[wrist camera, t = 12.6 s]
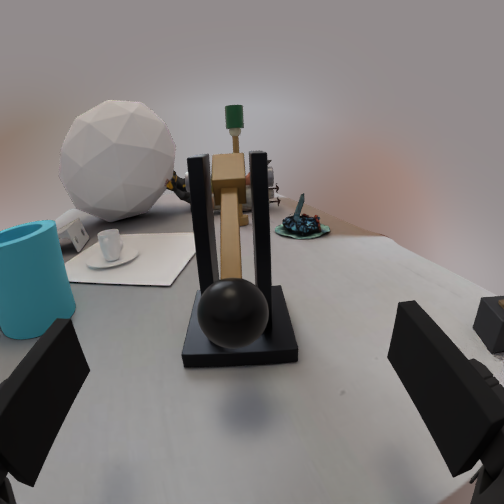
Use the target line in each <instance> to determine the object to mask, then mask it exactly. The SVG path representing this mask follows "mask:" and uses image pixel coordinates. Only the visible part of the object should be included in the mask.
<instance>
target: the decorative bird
mask: <svg viewBox="0 0 504 504" xmlns="http://www.w3.org/2000/svg"><path fill="white" fill-rule="evenodd" d="M276 187H277V188H268V189H269V199H272V198H274V191H273V189H277V190H276V192H277V191H278V190H279V187H278V186H277V185H276ZM246 199H247V203H246V204H242V211H249V210H252V204H251V185H246ZM277 200H278V201H269V203H273V202H278V206H279V203H280V201H281V200H279V199H278V197H277ZM212 203H213V210H220V209H221V205H219V206H215V202H214V196H213V194H212Z"/></svg>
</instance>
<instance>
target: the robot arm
mask: <svg viewBox="0 0 504 504" xmlns="http://www.w3.org/2000/svg"><path fill="white" fill-rule="evenodd" d="M387 358H388V359H389V361H390V363H391V364H392V366H393V368H394V370H395V371H396V373H397V375H398V376H399V378H400V380H401V382H402V383H403V385H404V387H405V389H406V390H407V392H408V394H409V396H410V397H411V399H412V401H413V403H414V404H415V406H416V408H417V410H418V412H419V413H420V415H421V417H422V419H423V421H424V423H425V424H426V426H427V428H428V430H429V432H430V434H431V436H432V437H433V439H434V441H435V443H436V445H437V447H438V449H439V451H440V453H441V455H442V457H443V459H444V460H445V462H446V464H447V466H448V468H449V470H450V472H451V474H452V476H453V477H456V476H458V475H460V474H462V473H464V472H467V471H469V470H471V469H472V468H473V467H474V465H475V464H476V463H477V462H478V460H479V459H480V460H481V462H482V464H483V465H482V466H481V468H480V469H479V470H478V471H477V472H476V474H475V475H474V476H473V477H472V478H471V480H470V483H471V484H472V483H473V482H474V480H475V479H476V478H477V477H478V478H477V482H476V486H475V490H474V493H473V496H472V500H471V503H470V504H504V387H503V386H502V385H501V384H499V381H498V380H497V379H496V378H495V377H493V374H492V373H491V372H490V371H489V369H488V368H487V367H486V366H485V365H484V364H482V363H480V362H479V361H477V360H476V359H474V358H473V359H470V360H468V359H467V358H466V357H465V356H464V354H463V353H462V352H461V351H460V350H459V349H458V347H457V346H456V345H455V344H454V343H453V342H452V341H451V340H450V338H449V337H448V336H447V335H446V334H445V333H444V332H443V331H442V329H441V328H440V327H439V326H438V325H437V324H436V323H435V322H434V321H433V320H432V318H431V317H430V316H429V315H428V314H427V313H426V312H425V311H424V310H423V309H422V308H421V307H420V306H419V304H418V303H417V302H416V301H415V300H413V301H406V302H399V303H398V308H397V314H396V319H395V324H394V329H393V334H392V338H391V343H390V347H389V352H388V356H387ZM89 372H90V369H89V366H88V364H87V361H86V359H85V356H84V354H83V351H82V348H81V346H80V343H79V341H78V338H77V335H76V332H75V329H74V327H73V324H72V321H71V319H64V318H57V319H56V320H55V321H54V322H53V323H52V324H51V326H50V327H49V328H48V329H47V330H46V331H45V333H44V334H43V335H42V336H41V337H40V339H39V340H38V341H37V342H36V343H35V345H34V346H33V347H32V348H31V350H30V351H29V352H28V353H27V355H26V356H25V357H24V358H23V360H22V361H21V362H20V363H19V365H18V366H17V367H16V369H15V370H14V371H13V372H12V374H11V375H10V376H9V378H8V379H6V380H4V381H3V382H2V383H1V384H0V504H16V501H15V498H14V494H13V490H12V487H11V483H10V481H9V479H8V478H7V477H6V476H7V473H8V472H9V473H10V474H11V475H12V476H13V477H14V478H15V479H16V480H17V481H19V482H21V483H24V484H26V485H28V486H31V487H34V485H35V482H36V480H37V478H38V475H39V473H40V471H41V469H42V466H43V464H44V462H45V460H46V457H47V455H48V453H49V451H50V449H51V447H52V444H53V442H54V440H55V438H56V436H57V434H58V432H59V430H60V428H61V426H62V424H63V422H64V420H65V418H66V416H67V414H68V412H69V410H70V408H71V406H72V404H73V402H74V400H75V398H76V396H77V394H78V392H79V390H80V389H81V387H82V385H83V383H84V381H85V379H86V377H87V376H88V374H89Z"/></svg>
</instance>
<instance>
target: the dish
mask: <svg viewBox="0 0 504 504" xmlns="http://www.w3.org/2000/svg"><path fill="white" fill-rule="evenodd" d="M303 203H304V193H303V194H301V197H300V200H299V202H298V205H297V207H296V211H295V212H294V215H293V216H290V215H291V214H290V215H289V217H286V218H285V219H283V224H282V225H279V226H277V227H276V228H275V232H276V233H277V234H281V235H286V236H291V237H293V238H296V239H304V238H315V237H318V236H320V235H323V234H324V233H326V232H328V231H330V228H329V227H328V226H325V225H323V224H320V223H319V219H320V217H318V216H317V215H315V216H314V218H313V217H309V215H306V214H302V216H300V212H301V209H302V206H303Z"/></svg>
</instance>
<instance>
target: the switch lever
mask: <svg viewBox="0 0 504 504" xmlns="http://www.w3.org/2000/svg"><path fill="white" fill-rule="evenodd" d="M211 182H212V189H213V196H214V202H215V206H219V205H221V280H218V281H216V282H214V283H213V284H211V285H210V286H209V287H208V288H207V289H206V290H205V291H204V293H203V294H202V296H201V298H200V300H199V303H198V308H197V318H198V323H199V326H200V328H201V330H202V332H203V333H204V334H205V336H206V337H207V338H208V339H209V340H210V341H212V342H213V343H215V344H216V345H219V346H221V347H224V348H233V349H235V348H241V347H245V346H248V345H250V344H251V343H253V342H254V341H256V340H257V339H258V338H259V337H260V336H261V335H262V333H263V332H264V330H265V328H266V326H267V322H268V317H269V310H268V304H267V301H266V299H265V297H264V295H263V293H262V292H261V291H260V290H259V288H258V287H256V286H255V285H254V284H253V283H251V282H249V281H247V280H244V279H242V266H241V246H240V225H239V204H246V203H247V199H246V176H245V162H244V153H232V154H218V155H213V156H212V176H211Z"/></svg>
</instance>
